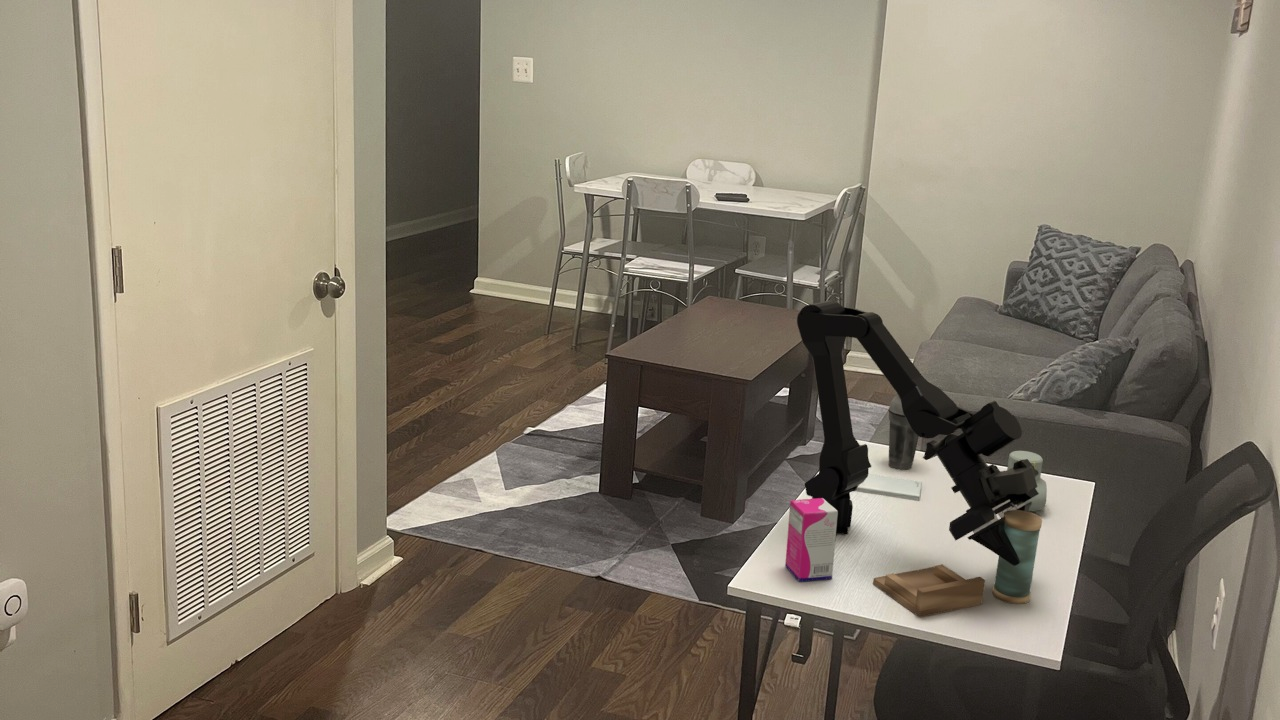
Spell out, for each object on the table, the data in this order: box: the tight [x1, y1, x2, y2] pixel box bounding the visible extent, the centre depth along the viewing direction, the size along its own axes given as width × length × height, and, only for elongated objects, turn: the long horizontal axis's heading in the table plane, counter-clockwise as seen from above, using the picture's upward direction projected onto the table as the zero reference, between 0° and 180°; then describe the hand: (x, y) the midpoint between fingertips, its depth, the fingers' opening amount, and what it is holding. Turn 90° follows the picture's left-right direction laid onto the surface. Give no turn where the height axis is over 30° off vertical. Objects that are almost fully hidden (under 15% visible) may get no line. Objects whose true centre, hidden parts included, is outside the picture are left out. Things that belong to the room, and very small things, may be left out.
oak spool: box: [991, 510, 1043, 605], centre depth 169 cm, size 6×6×13 cm
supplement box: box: [785, 498, 838, 583], centre depth 173 cm, size 6×6×12 cm
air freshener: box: [1006, 450, 1048, 513], centre depth 205 cm, size 11×8×10 cm
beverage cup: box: [887, 394, 920, 471], centre depth 221 cm, size 7×7×20 cm
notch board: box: [872, 564, 986, 618], centre depth 169 cm, size 11×12×4 cm
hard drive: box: [855, 473, 923, 502], centre depth 211 cm, size 2×8×12 cm
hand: (1025, 559), depth 168 cm, fingers closed on oak spool, 5 cm apart
